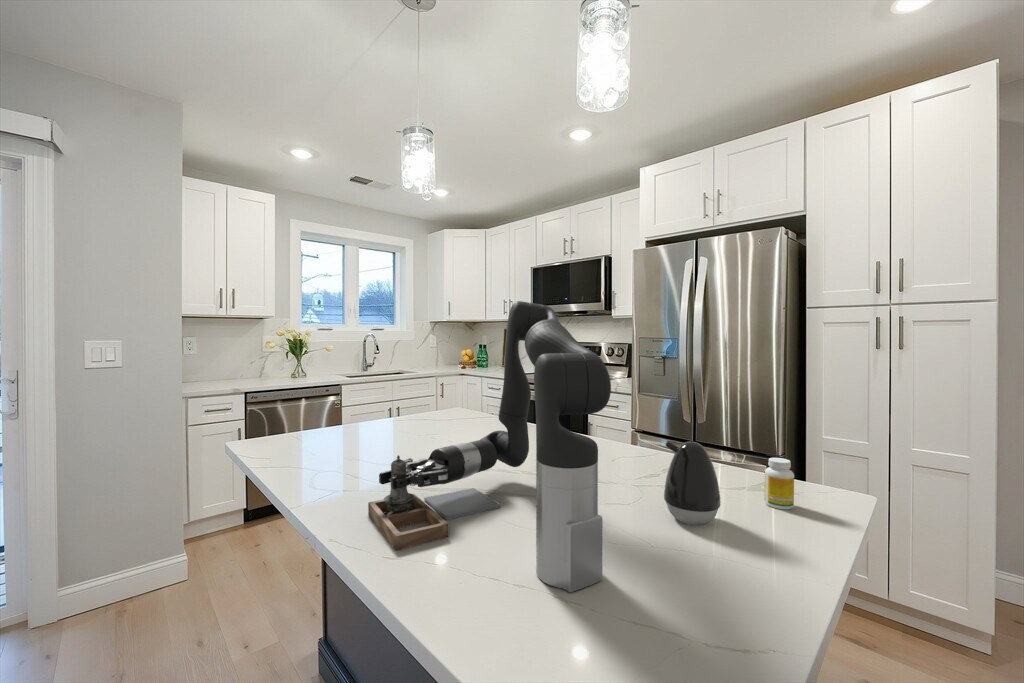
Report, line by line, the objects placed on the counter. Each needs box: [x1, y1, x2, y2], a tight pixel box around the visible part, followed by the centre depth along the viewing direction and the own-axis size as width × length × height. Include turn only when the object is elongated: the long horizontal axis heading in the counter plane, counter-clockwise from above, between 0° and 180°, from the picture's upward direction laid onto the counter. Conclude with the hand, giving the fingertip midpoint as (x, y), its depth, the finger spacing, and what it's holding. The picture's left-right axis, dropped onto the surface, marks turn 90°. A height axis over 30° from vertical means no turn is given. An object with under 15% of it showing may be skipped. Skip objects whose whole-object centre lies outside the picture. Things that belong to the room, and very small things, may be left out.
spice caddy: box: [367, 493, 449, 551], centre depth 86 cm, size 18×10×2 cm, turn 32°
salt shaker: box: [383, 454, 414, 516], centre depth 90 cm, size 6×6×12 cm
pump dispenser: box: [663, 441, 721, 526], centre depth 89 cm, size 10×10×15 cm
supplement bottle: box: [763, 457, 795, 510], centre depth 96 cm, size 5×5×10 cm
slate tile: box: [423, 487, 501, 521], centre depth 97 cm, size 12×12×1 cm
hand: (386, 481), depth 88 cm, fingers closed on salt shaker, 3 cm apart
